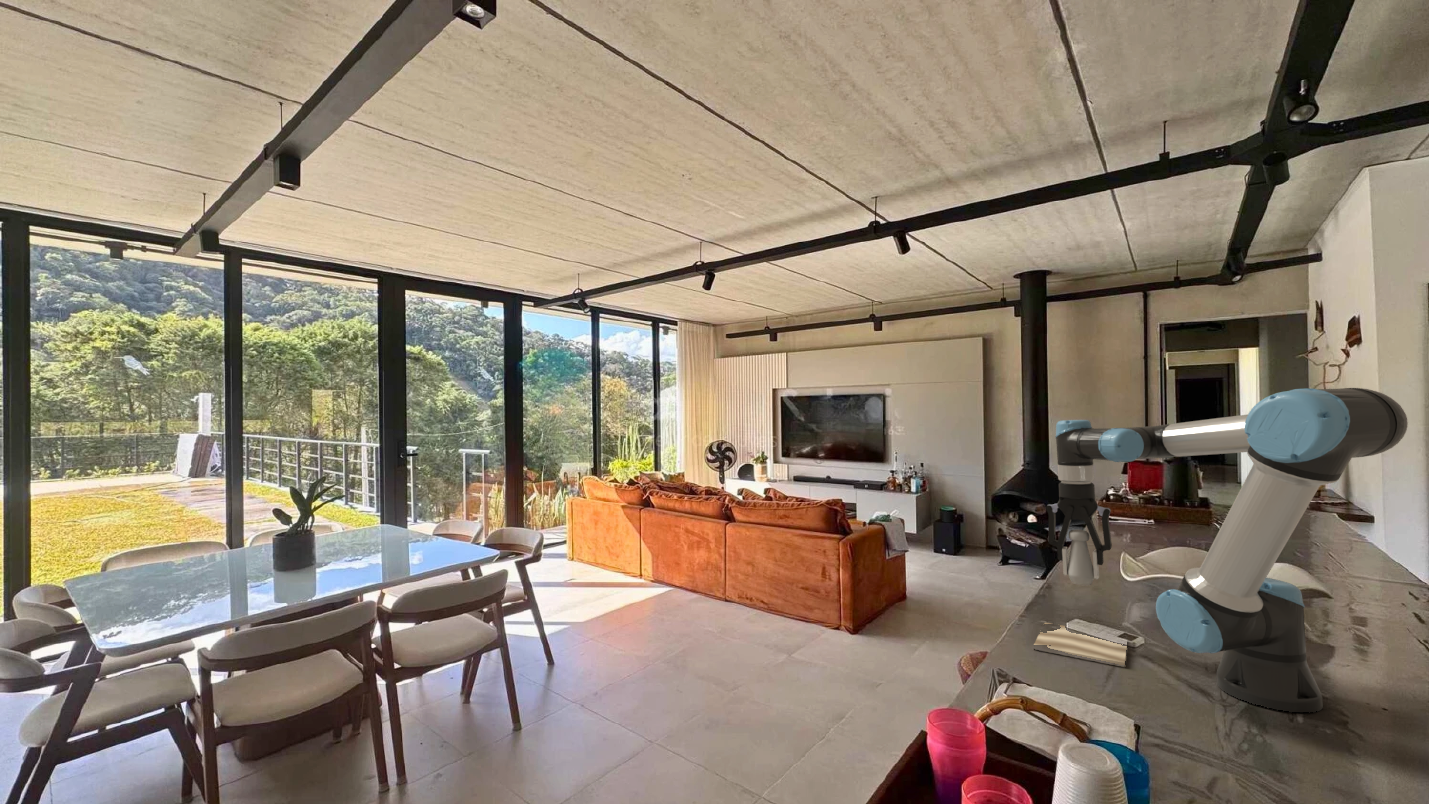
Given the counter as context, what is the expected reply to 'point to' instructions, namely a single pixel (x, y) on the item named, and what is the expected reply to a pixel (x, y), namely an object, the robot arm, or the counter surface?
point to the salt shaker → (1080, 559)
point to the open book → (1083, 645)
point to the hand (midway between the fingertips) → (1081, 575)
